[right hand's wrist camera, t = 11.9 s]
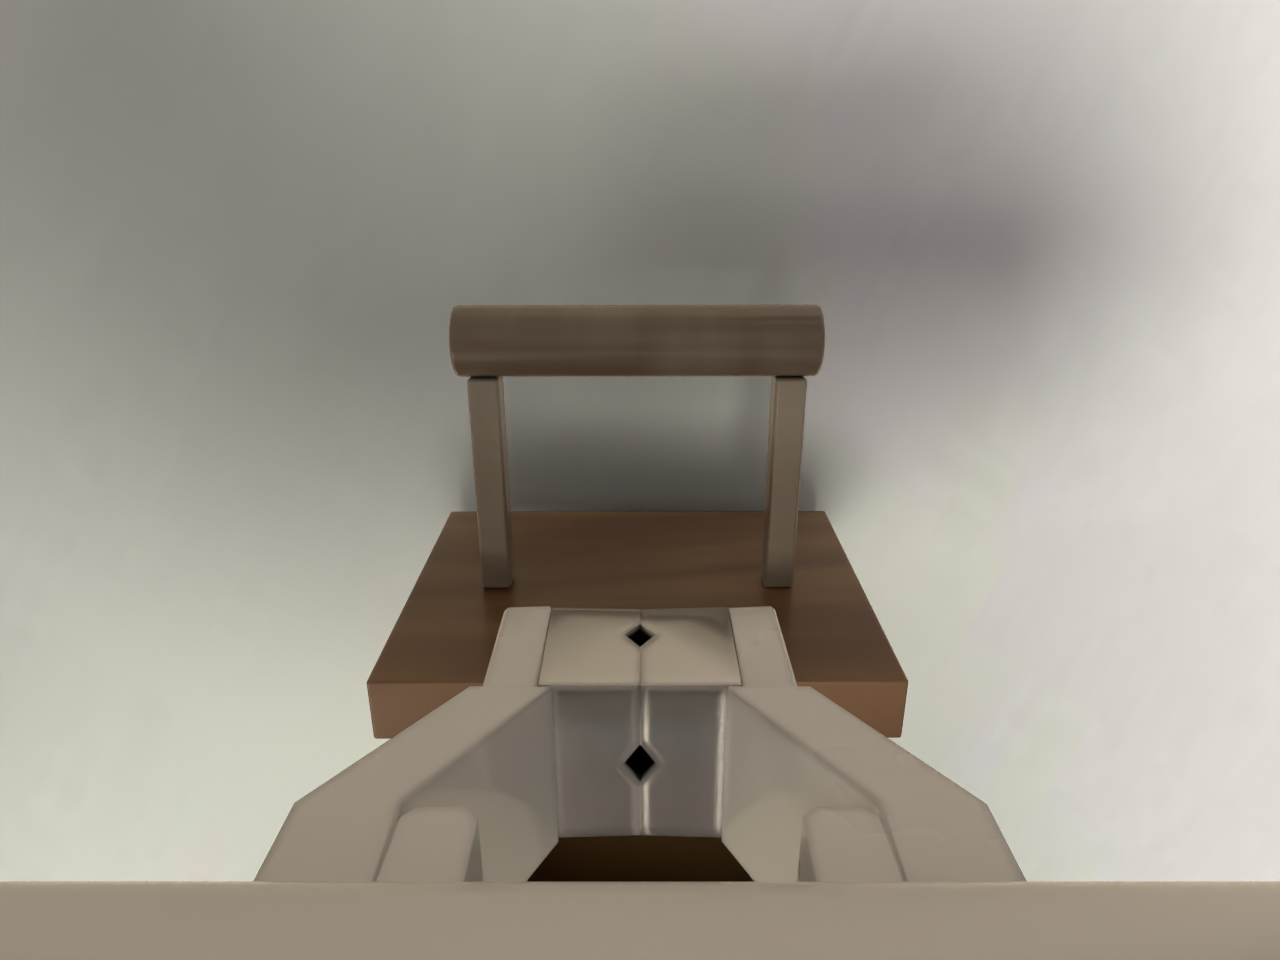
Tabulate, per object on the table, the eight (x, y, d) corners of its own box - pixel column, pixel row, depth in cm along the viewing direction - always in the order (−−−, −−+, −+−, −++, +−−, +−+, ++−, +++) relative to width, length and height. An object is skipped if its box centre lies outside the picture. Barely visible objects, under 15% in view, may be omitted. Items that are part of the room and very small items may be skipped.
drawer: (430, 275, 20) (320, 349, 13) (844, 274, 20) (952, 349, 13) (499, 1072, 29) (456, 1357, 23) (778, 1071, 29) (821, 1357, 23)
